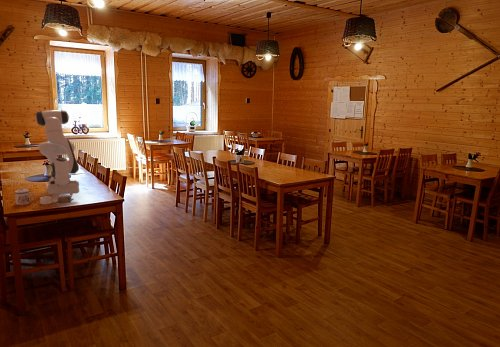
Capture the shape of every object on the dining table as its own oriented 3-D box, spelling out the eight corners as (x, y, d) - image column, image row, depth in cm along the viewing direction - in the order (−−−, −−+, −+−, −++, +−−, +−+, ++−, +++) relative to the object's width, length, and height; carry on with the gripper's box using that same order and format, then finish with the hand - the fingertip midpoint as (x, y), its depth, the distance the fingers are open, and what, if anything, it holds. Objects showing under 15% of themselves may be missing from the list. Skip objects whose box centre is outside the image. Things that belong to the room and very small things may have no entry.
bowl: (42, 203, 266) (42, 196, 265) (52, 202, 267) (52, 196, 266) (39, 205, 259) (38, 198, 258) (49, 205, 261) (49, 198, 260)
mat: (59, 200, 274) (59, 199, 274) (74, 199, 276) (74, 198, 276) (54, 204, 262) (54, 203, 262) (69, 204, 264) (69, 202, 264)
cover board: (61, 199, 273) (61, 195, 272) (70, 199, 274) (70, 195, 273) (58, 202, 264) (57, 198, 264) (67, 202, 265) (67, 198, 265)
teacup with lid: (17, 206, 258) (15, 189, 256) (14, 203, 264) (12, 187, 262) (36, 203, 266) (35, 187, 264) (33, 200, 272) (31, 184, 270)
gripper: (79, 179, 271) (81, 198, 274) (49, 180, 267) (50, 199, 270) (77, 181, 265) (78, 200, 268) (46, 182, 261) (47, 201, 264)
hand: (64, 199), depth 269 cm, fingers closed on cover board, 6 cm apart
